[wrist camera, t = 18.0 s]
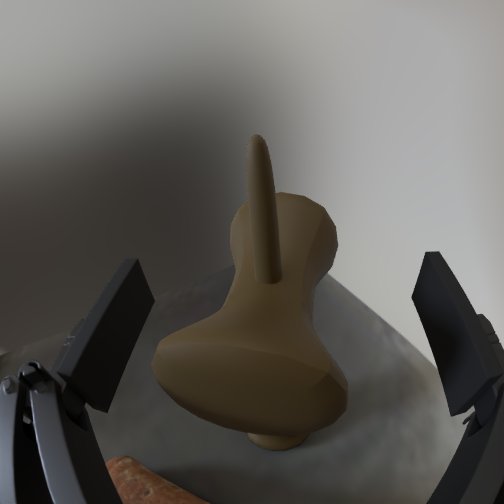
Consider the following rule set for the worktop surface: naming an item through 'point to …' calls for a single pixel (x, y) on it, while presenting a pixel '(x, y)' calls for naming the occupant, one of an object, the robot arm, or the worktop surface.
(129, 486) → the reddish brown tapered cylinder
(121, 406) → the worktop surface
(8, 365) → the worktop surface
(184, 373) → the kendama
